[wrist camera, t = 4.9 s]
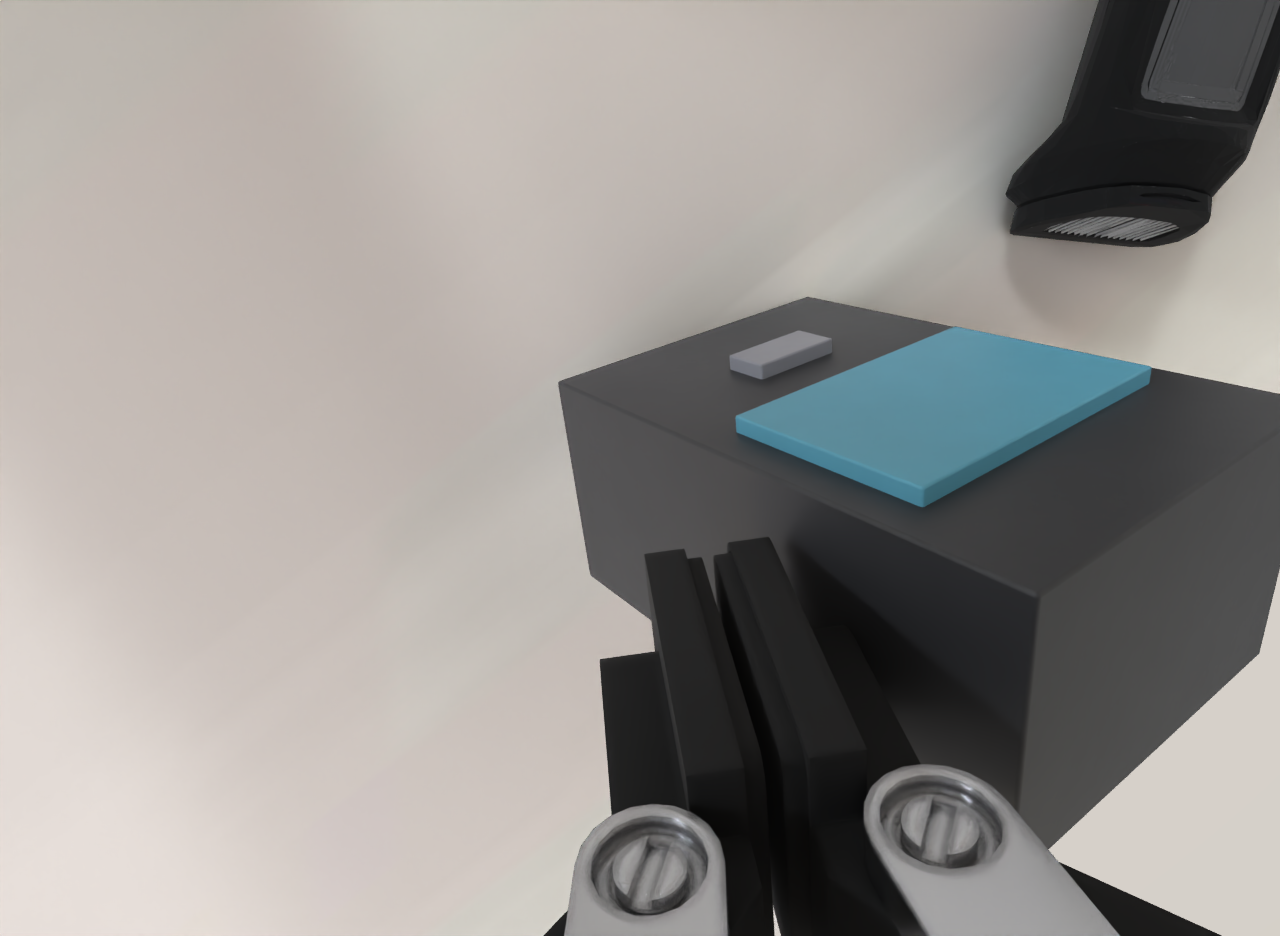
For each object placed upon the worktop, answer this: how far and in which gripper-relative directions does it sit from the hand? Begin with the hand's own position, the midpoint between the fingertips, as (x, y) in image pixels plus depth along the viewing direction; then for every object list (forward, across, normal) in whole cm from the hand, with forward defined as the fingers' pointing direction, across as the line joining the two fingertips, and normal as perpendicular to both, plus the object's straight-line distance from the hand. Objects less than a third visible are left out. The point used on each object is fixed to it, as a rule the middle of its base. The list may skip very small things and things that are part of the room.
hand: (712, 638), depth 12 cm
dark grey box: (+6, -1, 0) cm, 6 cm away
